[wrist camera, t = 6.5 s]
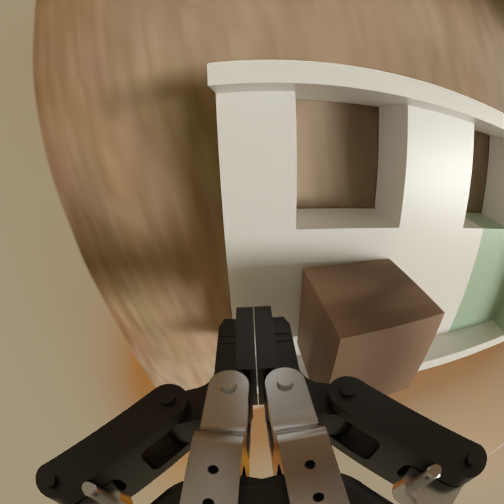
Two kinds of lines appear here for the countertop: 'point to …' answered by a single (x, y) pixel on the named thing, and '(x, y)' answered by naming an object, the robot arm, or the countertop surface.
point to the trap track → (361, 219)
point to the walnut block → (365, 324)
